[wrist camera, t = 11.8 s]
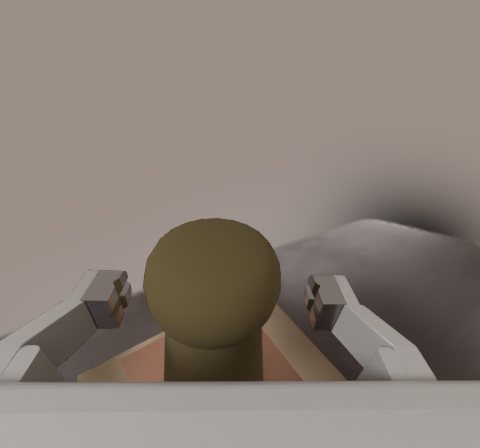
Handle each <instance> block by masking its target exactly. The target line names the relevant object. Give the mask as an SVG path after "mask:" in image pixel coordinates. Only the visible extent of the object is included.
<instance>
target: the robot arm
mask: <svg viewBox="0 0 480 448" xmlns="http://www.w3.org/2000/svg"><path fill="white" fill-rule="evenodd" d="M127 278H128V275H127V272H126V271H112V270H88V271H86V272H85V273H84V275H83V277H82V278H81V279H80V281H79V282H78V284H77V285H76V287H75V288H74V290H73V291H72V293H71V294H70V296H69V297H68V299H67V300H66V301H61V302H60V303H58V304H57V305H55V306H54V307H52V308H51V309H49V310H47V311H46V312H44V313H43V314H41V315H40V316H38V317H37V318H35V319H33V320H32V321H30V322H29V323H27V324H25V325H24V326H22V327H21V328H19V329H18V330H16V331H15V332H13V333H11V334H10V335H8V336H7V337H5V338H4V339H2V340H1V341H0V448H480V380H469V381H438V380H437V379H436V377H435V376H434V374H433V372H432V371H431V369H430V368H429V366H428V364H427V363H426V361H425V360H424V358H423V356H422V355H421V353H420V352H419V350H418V348H417V347H416V346H415V345H414V344H412V343H411V342H410V341H409V340H407V339H406V338H405V337H403V336H402V335H401V334H400V333H398V332H397V331H396V330H395V329H393V328H392V327H391V326H389V325H388V324H387V323H386V322H384V321H383V320H382V319H380V318H379V317H378V316H377V315H375V314H374V313H373V312H371V311H370V310H369V309H368V308H366V307H365V306H364V305H360V304H359V302H358V300H357V298H356V296H355V294H354V292H353V290H352V288H351V286H350V284H349V283H348V281H347V279H346V277H345V276H344V275H310V276H309V279H308V283H309V285H308V286H307V287H306V288H305V292H304V301H305V305H306V308H307V309H308V310H309V311H310V314H309V319H310V322H311V326H312V329H313V330H325V331H332V333H333V334H334V335H335V336H336V337H337V338H338V340H339V341H340V342H341V343H342V344H343V345H344V346H345V348H346V349H347V350H348V351H349V352H350V353H351V354H352V355H353V357H354V358H355V359H356V360H357V361H358V362H359V363H360V364H361V366H362V367H363V368H364V369H363V370H362V372H361V373H360V375H359V376H358V377H357V379H356V381H173V382H64V381H65V380H64V378H63V376H62V375H61V374H60V372H59V371H58V370H57V368H58V367H59V366H60V365H61V364H62V363H63V362H64V361H66V360H67V359H68V358H69V357H70V356H71V355H72V354H73V353H74V352H75V351H76V350H77V349H78V348H79V347H80V346H81V345H82V344H83V343H84V342H85V341H87V340H88V339H89V338H90V337H91V336H92V335H93V334H94V333H95V332H96V331H97V330H98V329H111V328H119V326H120V324H121V321H122V319H123V317H124V312H123V309H124V308H125V307H127V306H128V304H129V302H130V299H131V285H130V283H128V282H127Z"/></svg>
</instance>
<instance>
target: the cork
mask: <svg viewBox="0 0 480 448" xmlns="http://www.w3.org/2000/svg"><path fill="white" fill-rule="evenodd" d="M143 289H144V292H145V296H146V300H147V303H148V307H149V310H150V314H151V316H152V317H153V318H154V319H155V320H156V322H157V323H158V324H159V325H160V326H161V328H162V329H163V330H164V331H165V351H164V382H173V381H263V348H262V326H263V325H264V324H265V323H266V322H267V321H268V319H269V318H270V317H271V315H272V312H273V310H274V308H275V305H276V303H277V301H278V298H279V294H280V290H281V272H280V264H279V261H278V259H277V256H276V254H275V252H274V250H273V248H272V246H271V245H270V243H269V242H268V241H267V240H266V239H265V237H264V236H263V235H262V234H261V233H260V232H258V231H257V230H255V229H253V228H252V227H250V226H248V225H246V224H243V223H240V222H237V221H234V220H226V219H219V218H214V219H213V218H212V219H200V220H196V221H191V222H187V223H184V224H182V225H180V226H178V227H176V228H174V229H172V230H170V231H169V232H168V233H167V234H165V235H164V236H163V237H162V238H160V240H159V241H158V243H157V245H156V246H155V248H154V249H153V251H152V252H151V254H150V256H149V257H148V259H147V263H146V269H145V274H144V282H143Z"/></svg>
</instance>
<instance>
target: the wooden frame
mask: <svg viewBox="0 0 480 448" xmlns="http://www.w3.org/2000/svg"><path fill="white" fill-rule="evenodd" d="M262 348H263V381H347V380H346V379H345V377H344V376H343V375H342V374H341V373H340V372H339V371H338V370H337V369H336V368H335V367H334V366H333V364H332V363H331V362H330V361H329V360H328V359H327V358H326V357H325V356H324V355H323V354H322V353H321V351H320V350H319V349H318V348H317V347H316V346H315V345H314V344H313V343H312V342H311V341H310V339H309V338H308V337H307V336H306V335H305V334H304V333H303V332H302V331H301V330H300V329H299V328H298V326H297V325H296V324H295V323H294V322H293V321H292V320H291V319H290V318H289V317H288V316H287V314H286V313H285V312H284V311H283V310H282V309H281V308H280V307H279V306H278V305H277V304H276V305H275V308H274V310H273V312H272V315H271V317H270V318H269V319H268V321H267V322H266V323H265V324H264V325H263V326H262ZM164 351H165V331H163V332H161V333H159V334H157V335H155V336H153V337H152V338H150V339H148V340H146V341H144V342H142V343H140V344H138V345H136V346H134V347H132V348H130V349H128V350H126V351H124V352H122V353H120V354H118V355H116V356H114V357H112V358H110V359H108V360H107V361H105V362H103V363H101V364H99V365H97V366H95V367H93V368H91V369H89V370H87V371H85V372H83V373H81V374H79V375H77V382H164Z"/></svg>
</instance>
